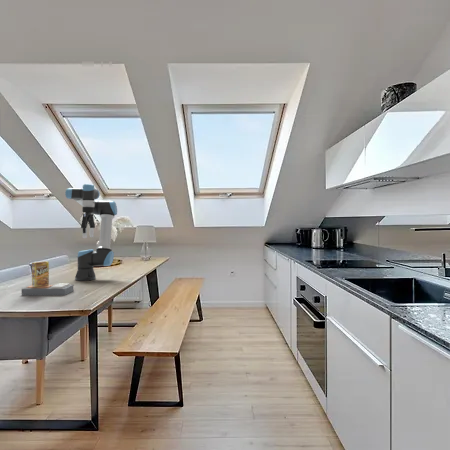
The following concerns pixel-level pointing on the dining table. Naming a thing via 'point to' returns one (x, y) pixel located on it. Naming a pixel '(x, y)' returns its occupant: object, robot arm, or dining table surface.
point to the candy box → (40, 274)
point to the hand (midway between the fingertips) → (88, 237)
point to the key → (40, 286)
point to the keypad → (49, 290)
